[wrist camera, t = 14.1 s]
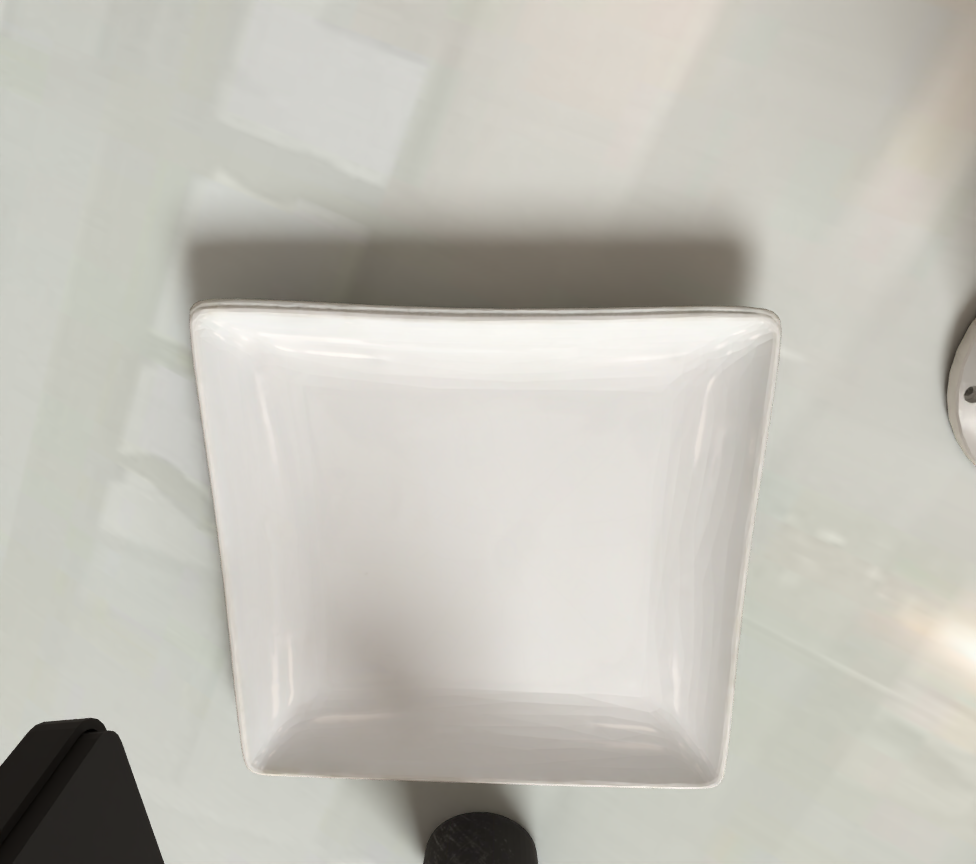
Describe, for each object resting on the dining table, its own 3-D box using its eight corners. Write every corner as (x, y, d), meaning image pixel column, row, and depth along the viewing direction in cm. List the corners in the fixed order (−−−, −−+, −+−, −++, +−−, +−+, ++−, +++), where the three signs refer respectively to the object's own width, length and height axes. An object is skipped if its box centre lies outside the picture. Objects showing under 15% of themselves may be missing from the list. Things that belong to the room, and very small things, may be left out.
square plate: (765, 291, 39) (790, 308, 35) (709, 748, 49) (724, 798, 45) (208, 286, 40) (177, 302, 36) (260, 736, 49) (240, 784, 46)
